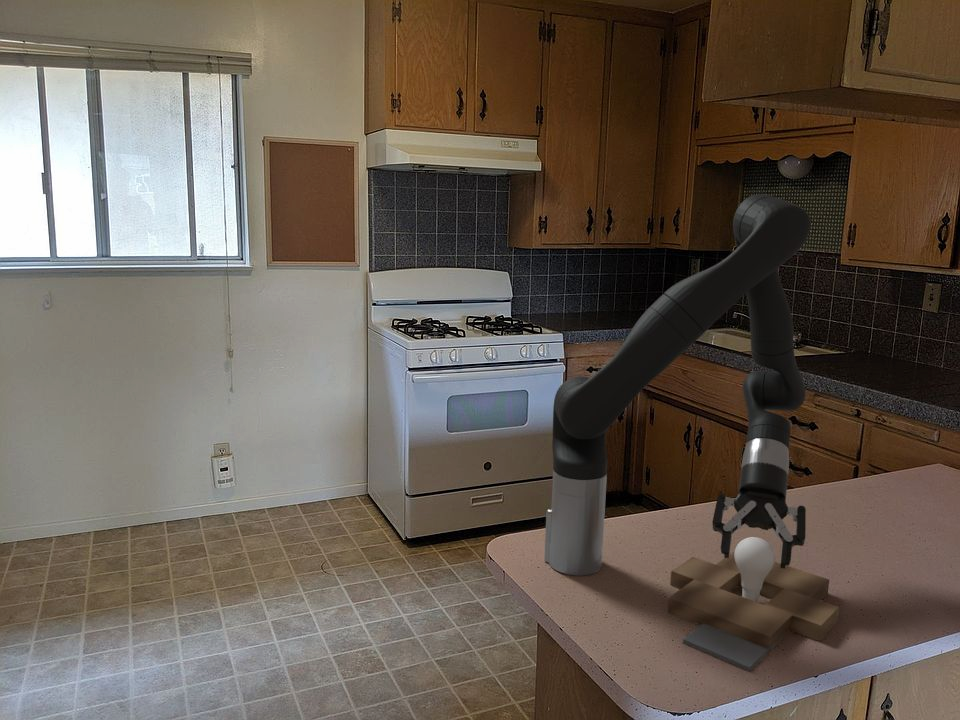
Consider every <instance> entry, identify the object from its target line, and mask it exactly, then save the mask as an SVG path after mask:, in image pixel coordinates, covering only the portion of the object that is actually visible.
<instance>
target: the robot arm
mask: <svg viewBox="0 0 960 720" xmlns="http://www.w3.org/2000/svg"><path fill="white" fill-rule="evenodd" d="M732 225H733V226H732V229H733V236H734V237H733V238H734V241H735V244H736V245H735V246H736V249H735V250H733V252H731V253H730V254H729V255H728V256H727V257H726V258H724V259H722V260H721V261H719V262H718V263H716V264H714V265H712V266H710V267H708V268H706V269H704V270H701V271H699V272H696V273H695V274H692V275H691V276H689V277H686V278H684V279H682V280H680V281H678V282H677V283H675V284H673V285H672V286H671V287H669V288H668V289H667V290H666V291H664V293H663V294H662V295H660V296H659V297H658V299H656V300H655V301H654V302H653V303H652V304H651V305H650V306H649V307H648V308H647V309H646V310H645V311H644V312H643V314H642V315H641V316H640V317H639V318H638V320H637V321H636V322H635V324H634V325H633V327H632V328H631V330H630V332H628V335H627V336H626V338H625V340H624V341H623V343H622V344H621V346H620V347H619V349H618V350H617V352H616V353H615V354H614V355H613V356H612V358H611V359H610V360H609V361H608V362H607V363H606V364H605V365H603V366H602V367H601V368H600V369H599V370H598V371H596V372H595V373H594V374H593V375H592V376H590V377H587V376H585V375H584V376H583V375H582V376H574V377H571V378H569V379H567V380H565V381H564V382H563V383H561V385H560V386H559V387H558V389H557V391H556V393H555V396H554V400H553V407H552V408H553V410H552V411H553V412H552V413H553V414H552V441H551V443H552V444H551V445H552V446H551V447H552V449H551V450H552V461H553V462H552V464H553V465H552V487H551V490H552V491H551V507H550V508H549V509H547V510H546V513H545V533H544V534H545V535H544V537H545V538H544V558H543V559H544V561H545V562H547V563H548V564H549V565H550V567H551V568H553V570H555V571H557V572H560V573H562V574H565V575H570V576H587V575H592V574H595V573H597V572H599V571H600V570H601V568H602V562H603V560H602V559H603V545H604V533H605V532H604V530H605V515H606V514H605V509H606V496H607V495H606V494H607V493H606V492H607V479H608V478H607V477H608V476H607V475H608V455H607V447H606V431H607V430H608V429H609V428H610V427H612V426H613V424H614V423H615V422H616V421H617V419H619V417H620V416H621V415H622V413H623V412H624V411H625V410H626V409H627V408H628V406H629V405H630V404H631V403H632V402H633V400H635V398H636V397H637V396H638V395H639V394H640V393H641V391H643V390H644V389H645V388H646V387H647V386H648V385H649V384H650V383H651V382H652V381H653V380H655V378H657V377H658V376H659V375H661V373H663V372H664V371H665V369H667V368H668V367H669V366H671V364H673V362H674V361H676V359H677V358H679V357H680V356H681V355H682V354H683V353H684V352H686V351H687V349H689V348H690V347H692V345H693V344H695V342H696V341H697V340H698V339H700V338H701V337H702V336H703V335H704V334H705V332H707V331H708V330H709V328H711V327H712V326H713V324H714V323H716V322H717V321H718V320H719V319H720V318H721V317H722V316H723V315H724V314H725V313H726V312H727V311H728V310H730V309H731V308H732V307H733V306H734V305H735V304H737V303H738V301H740V299H742V297H744V296H745V295H746V297H747V298H746V299H747V304H748V313H749V314H748V315H749V327H750V328H749V330H750V331H749V333H750V353H751V358H752V361H753V362H754V364H756V365H757V366H760V367H762V368H766V369H769V370H774V371H769V370H767V371H766V370H755V371H751V372H750V373H749V374H747V376H746V377H745V378H744V380H743V384H742V394H743V398H744V401H745V402H744V403H745V407H746V411H747V412H746V413H747V421H748V422H747V424H748V425H747V433H746V442H745V448H744V450H743V455H742V462H741V467H740V468H741V469H740V476H739V485H738V492H737V496H736V497H735V498H734V497H729V496H728V497H727V496H726V494H724V493H723V492H721V493H719V494H718V495H717V498H716V504H715V508H714V512H713V518H712V530H713V531H714V532H715V533H716V532H718V533H720V534H721V542H720V553H721V554H722V555H724V558H729V555H730V554H731V544H732V535H733V534H734V533H735V532H736V531H739V530H741V528H742V527H744V526H745V525H746V526H747V527H748V528H752V529H755V528H756V529H757V528H759V529H760V530H764V531H769V530H771V529H772V530H773V532H774V533H775V534H776V536H777V538H779V539H780V541H781V542H782V544H781V545H782V547H781V556H780V558H781V559H780V564H781V566H780V568H783V569H785V565H786V566H789V567H790V564H791V560H792V548H793V547H795V546H799V547H803V546H804V545H805V542H806V541H805V540H806V527H807V526H806V522H807V521H806V520H807V519H806V517H807V516H806V515H807V513H806V511H807V510H806V507H805V506H804V505H799V506H798V507H796V506H795V507H793V506H788V504H787V502H786V501H787V500H786V499H787V490H788V481H789V480H788V479H789V474H790V472H789V467H790V456H789V455H790V454H789V451H790V442H791V441H790V440H791V432H792V431H791V430H792V429H791V428H792V427H791V423H790V421H789V420H788V419H787V418H786V417H785V416H783V415H781V414H778V413H774V412H772V411H782V412H794V411H797V410H799V409H800V408H801V407H802V405H803V404H804V402H805V400H806V386H805V383H804V379H803V377H802V374H801V372H800V369H799V367H798V363H797V361H796V360H797V359H796V356H795V348H794V347H795V346H794V345H795V342H794V320H793V316H792V311H791V307H790V304H789V301H788V298H787V295H786V292H785V290H784V288H783V284H782V281H781V278H780V273H779V270H778V269H779V268H780V267H781V266H782V265H784V264H785V263H786V262H788V261H789V260H790V259H791V258H792V257H793V256H794V255H795V254H797V253H798V251H800V249H801V248H802V247H803V245H804V244H805V243H806V241H807V239H808V238H809V235H810V232H811V225H812V224H811V217H810V215H809V213H808V212H807V211H806V210H805V209H804V208H803V207H801V206H799V205H797V204H795V203H792V202H790V201H787V200H785V199H781V198H779V197H776V196H774V195H771V194H766V193H757V194H753V195H752V194H751V195H750V196H748V197H747V198H745V199H744V200H743V201H742V202H741V203H740V204H739V205H738V207H737V209H736V211H735V212H734V216H733V220H732ZM730 507H734V510H735V511H736V513H735V514H734V515H733V516H732V518H731V519H730V520H728V521H727V522H726V523H723V516H724V512H725V511H729V509H730ZM787 515H789V516H790V517H791V520H792V521H793V522H796V534H793V535H792V534H791V532H790V531H789V530H788V528H787V526H786V524H785V523H784V521H783V520H784V519H785V517H786V516H787ZM724 558H723V559H724Z"/></svg>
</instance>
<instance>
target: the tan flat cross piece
mask: <svg viewBox="0 0 960 720" xmlns="http://www.w3.org/2000/svg"><path fill="white" fill-rule="evenodd" d="M734 553H735V550H734V551H733V552H730V553H729V558H723V559H721V560H720V561H718V562H717V563H716V564H715V563H711V562H710V561H709V562H708V561H706V560H703V559H701V558H698V557H694V556H691V557H690V558H689V559H687V560H686V561H683V562H682V563H681V564H679V565H678V566H676V567H675V568H673V569H672V570H671V571H670V582H669V585H670V586H673V587H675V588H677V589H678V590H677V591H676V592H674V593H673V594H672V595H670V596H668V602H667V613H669V614H671V615H674V616H676V617H679V618H682V619H684V620H686V621H689V622H690V623H694V624H696V625H699V626H700V625H701V624H703V623H705V624H708V625H710V626H712V627H715V628H717V629H720V630H722V631H725V632H727V633H730V634H732V635H735V636H737V637H740V638H742V639H745V640H747V641H750V642H752V643H755V644H757V645H760V646H762V647H765V648H767V649H769V648H770V647H771V646H772V645H773V644H774V643H775V642H776V645H777V644H778V643H780V642H781V640H782V639H784V638H785V637H786V635H788V634H789V633H790V632H791V631H792V632H794V633H797V634H799V635H802V636H805V637H807V638H810V639H813V640H814V641H817V642H820V641H821V640H822V639H823V638H824V637H825V635H827V633H829V631H830V630H832V628H833V626H835V624H836V623H837V622H838V617H839V615H838V614H839V606H836V605H834V604H831V603H829V602H824V601H822V600H823V599H824V598H825V597H826V596H827V595H828V593H829V585H830V579H828V578H826V577H823V576H819V575H817V574H814V573H810V572H808V571H804V570H802V569H798V568H795V567H792V566H790V565H789V566H787V565H785V569H783V568H780V566H781V562H780V563H779V562H776V561H775V563H774V566H773V568H772V569H771V570H770V572H769V573H768V574H767V575H766V577H765V579H764V581H763V585H762V589H761V590H760V595H759V596H763V597H766V598H768V599H770V600H769V601H768V602H767V603H766V604H762V603H760V602H758V601H757V602H755V601H752V600H749V599H747V598H744V597H742V595H738V594H736V593H733V592H732V591H734V590H735V589H737V588H740V589H743V587H742V585H741V574H740V571H739V569H738V567H737V564H736V562H735V557H734ZM769 652H770V651H768V653H769Z"/></svg>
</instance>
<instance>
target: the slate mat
mask: <svg viewBox="0 0 960 720" xmlns="http://www.w3.org/2000/svg"><path fill="white" fill-rule="evenodd" d="M682 644H685V645H687V646H689V647H692V648H694V649H696V650H698V651H701V652H703V653H706V654H708V655H711V656H713V657H715V658H718V659H720V660H722V661H725V662H727V663H730V664H731V665H733V666H736V667H739V668H741V669H743V670H745V671H748V672H751V670H752V669H753V668H754V667H756V665H758V663H759V662H760V661H762V660H763V658H764V657H766V655H768V653H769V652H771V651H772V650H773V649H774V648H775V647H776V645H777V644H776V642H775V643H774V644H773V645H772V646H771V647H770V648H769V649H767V648H765V647H762V646H760V645H757V644H755V643H752V642H750V641H747V640H745V639H742V638H740V637H737V636H735V635H732V634H730V633H727V632H725V631H722V630H720V629H717V628H715V627H712V626H710V625H708V624H705V623H703V624H701V625H699V626H698V627H696V628H694V630H693V631H692V632H690V633H689V634H687V636H685V637H684V638H683V639H682ZM768 651H769V652H768Z"/></svg>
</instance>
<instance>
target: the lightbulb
mask: <svg viewBox="0 0 960 720" xmlns="http://www.w3.org/2000/svg"><path fill="white" fill-rule="evenodd" d="M734 551H735V553H734V557H735V562H736V564H737V567H738V569H739V571H740V574H741V585H742V587H743V588H741V590H742V591H741V592H742V594H741V597H744V598H747V599H749V600H752V601H755V602H758V601H759V599H760V596H761V595H760V590H761V589H762V585H763V581H764V579H765V577H766V575H767V574H768V573H769V572H770V570H771V569H772V568H773V566H774V563H775V562H776V555H775V550H774V549H773V547H772V546H771V544H770V543H769V542H767V541H766V540H764V539H763V538H760V537H756V536H749V537H746V538H744V539H742V540H741V541H740V542H738V543H737V545H736V547H735V549H734Z"/></svg>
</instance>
